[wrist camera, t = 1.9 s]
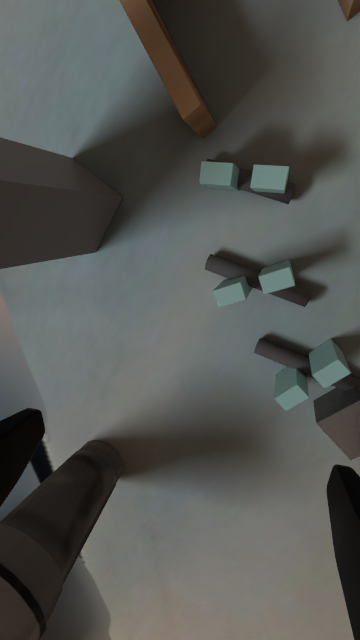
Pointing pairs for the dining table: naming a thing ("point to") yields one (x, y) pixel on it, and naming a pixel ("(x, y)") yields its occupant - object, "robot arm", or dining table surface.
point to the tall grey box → (49, 206)
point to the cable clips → (274, 286)
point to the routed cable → (290, 293)
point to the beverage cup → (51, 537)
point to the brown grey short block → (341, 418)
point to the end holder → (181, 61)
